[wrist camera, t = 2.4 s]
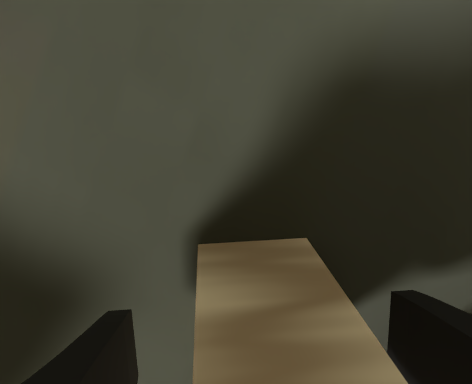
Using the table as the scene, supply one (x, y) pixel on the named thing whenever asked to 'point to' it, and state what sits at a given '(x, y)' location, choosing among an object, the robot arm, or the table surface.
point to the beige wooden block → (279, 320)
